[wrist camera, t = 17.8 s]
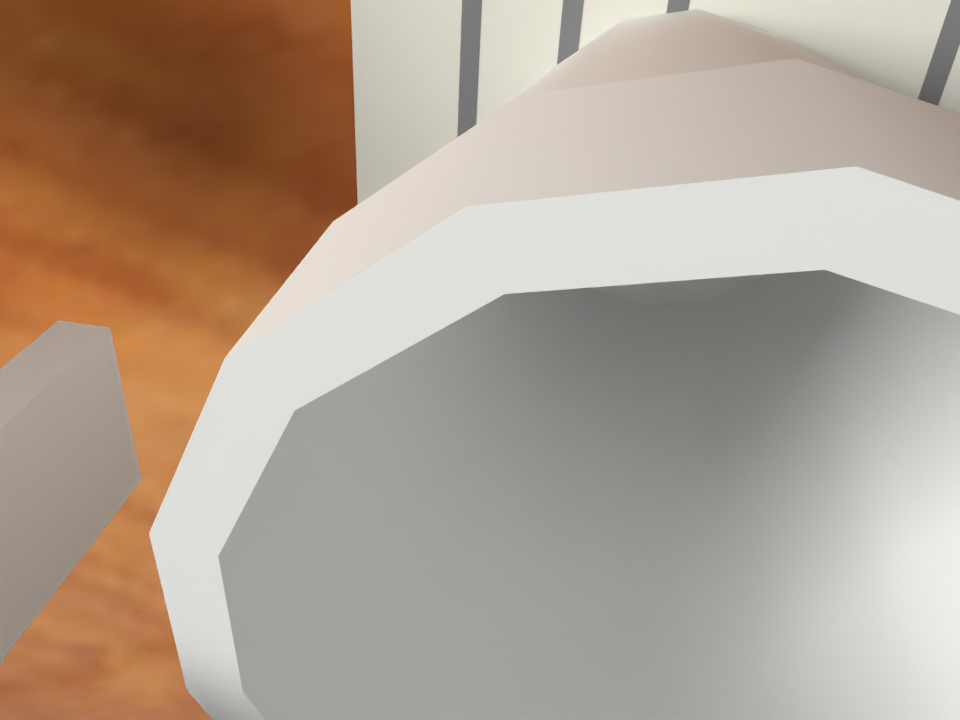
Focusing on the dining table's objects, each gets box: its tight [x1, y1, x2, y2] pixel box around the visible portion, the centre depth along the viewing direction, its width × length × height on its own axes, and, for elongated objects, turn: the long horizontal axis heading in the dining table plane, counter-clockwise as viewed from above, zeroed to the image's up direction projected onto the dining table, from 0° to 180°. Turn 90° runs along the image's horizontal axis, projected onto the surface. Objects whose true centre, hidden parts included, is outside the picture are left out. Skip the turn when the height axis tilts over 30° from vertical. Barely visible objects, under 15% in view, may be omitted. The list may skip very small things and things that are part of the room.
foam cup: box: [149, 9, 960, 720], centre depth 12 cm, size 10×9×13 cm
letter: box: [351, 0, 960, 204], centre depth 18 cm, size 12×14×1 cm
